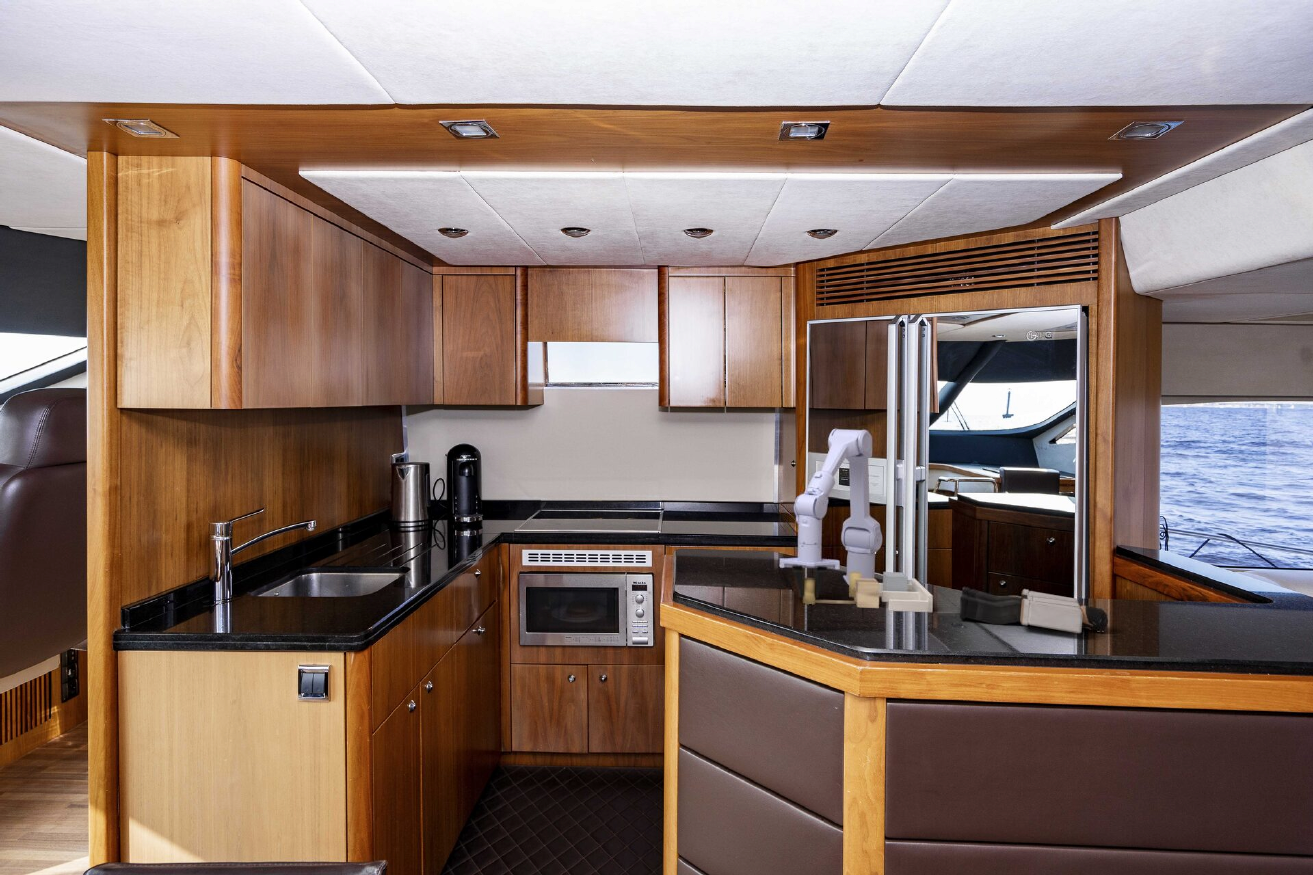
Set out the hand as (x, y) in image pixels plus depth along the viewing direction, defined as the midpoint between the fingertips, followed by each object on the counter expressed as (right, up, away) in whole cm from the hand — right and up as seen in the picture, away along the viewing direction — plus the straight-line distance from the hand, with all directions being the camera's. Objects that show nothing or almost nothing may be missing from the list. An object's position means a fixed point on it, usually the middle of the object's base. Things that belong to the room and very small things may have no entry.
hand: (808, 596), depth 182 cm
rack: (+24, -2, +2) cm, 24 cm away
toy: (+48, -3, -15) cm, 50 cm away
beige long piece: (+8, -2, -1) cm, 8 cm away
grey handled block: (+19, -1, +6) cm, 20 cm away
